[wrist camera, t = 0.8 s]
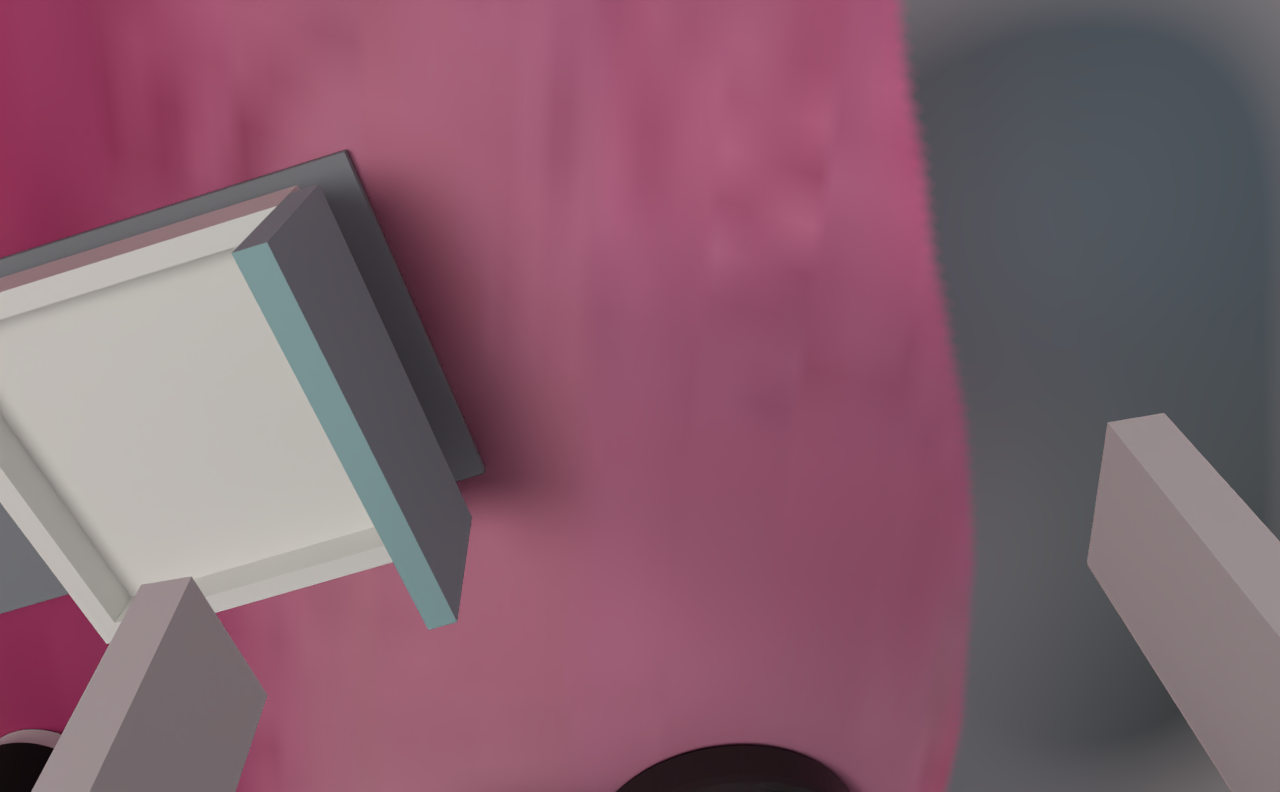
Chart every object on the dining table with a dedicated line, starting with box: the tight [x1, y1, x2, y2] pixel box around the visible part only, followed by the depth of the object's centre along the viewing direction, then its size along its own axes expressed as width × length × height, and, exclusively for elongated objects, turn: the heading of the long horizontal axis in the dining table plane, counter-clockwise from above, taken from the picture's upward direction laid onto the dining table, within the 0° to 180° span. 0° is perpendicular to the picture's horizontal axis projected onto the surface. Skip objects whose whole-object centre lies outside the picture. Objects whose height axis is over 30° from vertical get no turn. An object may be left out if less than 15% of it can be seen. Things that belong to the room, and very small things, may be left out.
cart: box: [0, 184, 472, 644], centre depth 32 cm, size 14×15×9 cm
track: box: [0, 150, 485, 614], centre depth 36 cm, size 14×34×3 cm, turn 106°
